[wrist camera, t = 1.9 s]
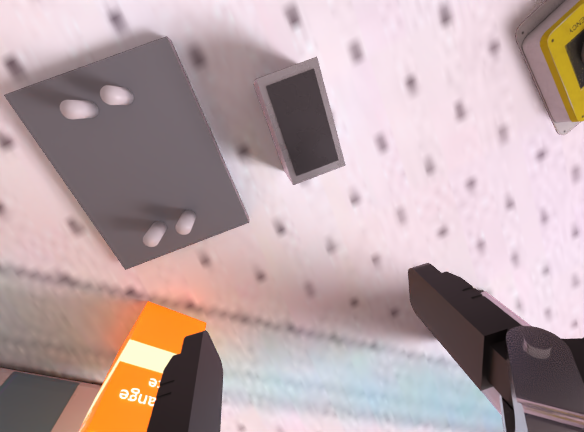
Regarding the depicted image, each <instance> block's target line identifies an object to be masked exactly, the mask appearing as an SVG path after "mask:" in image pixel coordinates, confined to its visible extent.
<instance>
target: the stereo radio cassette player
mask: <svg viewBox="0 0 584 432" xmlns="http://www.w3.org/2000/svg"><path fill="white" fill-rule="evenodd" d="M100 388H101V385H95V384H90V383H84V382H78V381H73V380H67V379H62V378H56V377H50V376H45V375H39V374H33V373H28V372H22V371H16V370H11V369H5V368H0V432H79V430H80V428H81V426H82V424H83V421H84V419H85V417H86V415H87V413H88V411H89V409H90V407H91V405H92V403H93V401H94V399H95V397H96V396H97V394H98V392H99V390H100Z"/></svg>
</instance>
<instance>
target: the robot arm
mask: <svg viewBox="0 0 584 432" xmlns="http://www.w3.org/2000/svg"><path fill="white" fill-rule="evenodd" d="M408 280H409V293H410V302H411V305H412V307H413V310H414V311H415V313H416V315H417V316H418V317H419V318H420V319H421V321H422V322H423V323H424V324H425V325H426V327H427V328H428V329H429V330H430V331H431V332H432V334H433V335H434V336H435V337H436V338H437V340H438V341H439V342H440V343H441V344H442V346H443V347H444V348H445V349H446V350H447V351H448V353H449V354H450V355H451V356H452V357H453V359H454V360H455V361H456V362H457V363H458V364H459V366H460V367H461V368H462V369H463V370H464V372H465V373H466V374H467V375H468V376H469V378H470V379H471V380H472V381H473V382H474V383H475V385H476V386H477V387H478V388H479V389H480V391H482V393H483V394H484V395H485V396H486V397H487V399H488V400H489V401H490V402H491V403H492V405H493V406H494V407H495V408H496V409H497V410H498V412H499V413H500V414H501V415H502V423H503V431H504V432H584V338H582V339H560V338H559V337H558V336H556V335H555V334H553V333H551V332H549V331H546V330H544V329H541V328H537V327H532V326H531V325H529V324H528V323H527V322H525V321H524V320H523V319H521V318H520V317H519V316H518V315H516V314H515V313H514V312H512V311H511V310H510V309H508V308H507V307H506V306H504V305H503V304H502V303H500V302H499V301H498V300H497V299H495V298H494V297H493V296H491V295H490V294H489V293H487V292H486V291H484V292H481V293H480V292H479V291H478V290H476V289H475V288H474V289H473V287H472V286H471V285H470V284H469V283H467V282H466V281H465V280H463V279H462V278H461V277H458V276H456V275H453V274H451V273H449V272H444V273H441V272H440V271H438V270H437V269H436V268H435V267H434V266H432V265H431V264H429V263H426V264H423V265H419V266H416V267H413V268H410V269H409V270H408ZM159 385H160V387H159V388H158V392H157V395H156V400H155V402H154V406H153V409H152V413H151V417H150V420H149V424H148V427H147V431H146V432H220V424H221V406H222V388H223V368H222V363H221V360H220V357H219V355H218V353H217V351H216V348H215V346H214V344H213V342H212V340H211V338H210V335H209V333H208V332H207V331H206V330H205V331H201V332H198V333H195V334H192V335H188V336H186V337H185V338H184V340H183V344H182V349H181V353H180V354H177V355H173V356H172V358H171V359H170V361H169V362H168V364H167V365H166V367H165V368H164V370H163V374H162V377H161V381H160V384H159Z"/></svg>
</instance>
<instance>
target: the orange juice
mask: <svg viewBox="0 0 584 432" xmlns="http://www.w3.org/2000/svg"><path fill="white" fill-rule="evenodd" d="M205 327H206V323H205V322H203V321H200V320H197V319H194V318H192V317H189V316H186V315H184V314H181V313H178V312H176V311H173V310H170V309H167V308H165V307H162V306H159V305H157V304H154V303H151V302H149V301H148V302H147V304H146V306H145V307H144V309H143V311H142V313H141V314H140V316H139V318H138V319H137V321H136V323H135V325H134V326H133V328H132V330H131V331H130V333H129V335H128V337H127V338H126V340H125V342H124V343H123V345H122V347H121V349H120V350H119V352H118V354H117V356H116V358H115V360H114V362H113V364H112V366H111V368H110V370H109V372H108V374H107V376H106V378H105V380H104V382H103V384H102V386H101V388H100V390H99V392H98V394H97V396H96V397H95V399H94V401H93V403H92V405H91V407H90V409H89V411H88V413H87V415H86V417H85V419H84V421H83V424H82V426H81V428H80V430H79V432H146V431H147V427H148V424H149V420H150V417H151V413H152V409H153V406H154V402H155V400H156V395H157V392H158V388H159V387H160V385H159V384H160V381H161V377H162V374H163V370H164V368H165V367H166V365H167V364H168V362H169V361H170V359H171V358H172V356H173V355H177V354H180V353H181V349H182V344H183V340H184V338H185V337H186V336H188V335H192V334H195V333H198V332H201V331H205Z"/></svg>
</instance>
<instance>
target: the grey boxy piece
mask: <svg viewBox="0 0 584 432" xmlns="http://www.w3.org/2000/svg"><path fill="white" fill-rule="evenodd" d="M253 85H254V87H255V90H256V93H257V96H258V99H259V102H260V104H261V107H262V110H263V113H264V116H265V118H266V121H267V124H268V127H269V130H270V133H271V135H272V138H273V141H274V144H275V147H276V149H277V152H278V155H279V158H280V161H281V163H282V166H283V169H284V172H285V173H286V175H287V176H288V178H289V179H290V181H291V182H292V184H293V185H295V184H298V183H300V182H303V181H305V180H308V179H311V178H313V177H316V176H319V175H321V174H324V173H327V172H329V171H332V170H335V169H337V168H340V167H343V166H345V162H344V158H343V154H342V150H341V147H340V143H339V139H338V135H337V131H336V128H335V124H334V120H333V116H332V112H331V108H330V105H329V101H328V97H327V93H326V89H325V86H324V82H323V78H322V74H321V70H320V66H319V63H318V59H317V57H315V58H312V59H309V60H306V61H304V62H301V63H298V64H296V65H293V66H290V67H287V68H285V69H282V70H279V71H276V72H274V73H271V74H268V75H265V76H263V77H260V78H257V79H256V80H255V82H254V84H253Z"/></svg>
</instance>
